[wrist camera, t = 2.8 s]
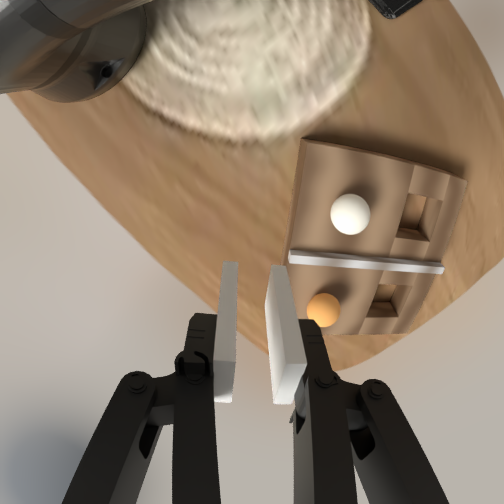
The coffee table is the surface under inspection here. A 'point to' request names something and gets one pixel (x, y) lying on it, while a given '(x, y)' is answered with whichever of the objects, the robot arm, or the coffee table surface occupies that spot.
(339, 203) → the cream ball
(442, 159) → the coffee table surface
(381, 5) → the phone
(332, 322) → the orange ball
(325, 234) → the putting board
